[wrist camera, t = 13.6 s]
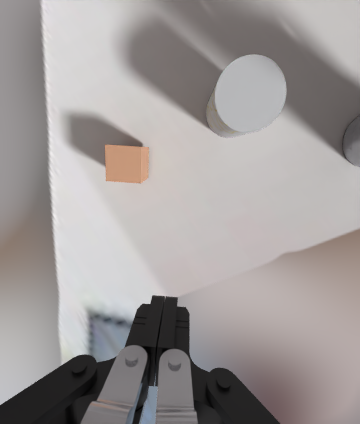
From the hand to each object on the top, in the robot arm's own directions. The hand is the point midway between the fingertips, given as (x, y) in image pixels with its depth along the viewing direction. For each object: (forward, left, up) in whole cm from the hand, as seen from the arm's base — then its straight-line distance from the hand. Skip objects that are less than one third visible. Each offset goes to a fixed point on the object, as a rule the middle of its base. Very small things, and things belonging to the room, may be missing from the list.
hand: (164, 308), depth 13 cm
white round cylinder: (-8, -16, -30) cm, 34 cm away
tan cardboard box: (+8, -7, -28) cm, 30 cm away
